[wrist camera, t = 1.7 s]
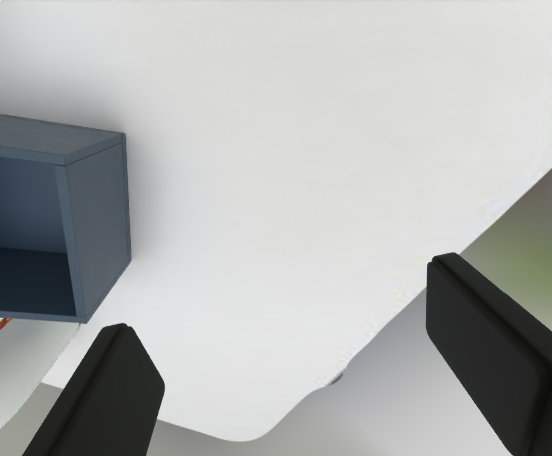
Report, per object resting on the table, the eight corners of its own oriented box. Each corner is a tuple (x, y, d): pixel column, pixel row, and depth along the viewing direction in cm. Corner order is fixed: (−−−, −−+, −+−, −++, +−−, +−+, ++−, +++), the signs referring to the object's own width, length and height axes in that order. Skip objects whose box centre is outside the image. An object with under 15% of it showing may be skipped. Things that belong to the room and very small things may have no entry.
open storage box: (-44, 107, 28) (-203, 117, 19) (125, 133, 30) (63, 155, 21) (-6, 247, 35) (-109, 310, 25) (131, 260, 37) (86, 324, 27)
